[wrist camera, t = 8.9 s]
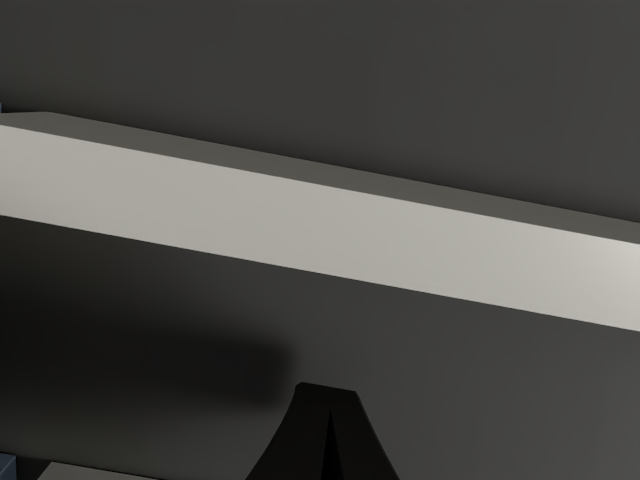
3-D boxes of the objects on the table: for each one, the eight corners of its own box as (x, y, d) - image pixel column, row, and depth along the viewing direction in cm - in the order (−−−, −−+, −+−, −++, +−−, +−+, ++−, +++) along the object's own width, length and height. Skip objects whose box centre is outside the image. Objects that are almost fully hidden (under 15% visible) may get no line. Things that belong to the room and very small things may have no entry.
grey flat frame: (556, 586, 13) (605, 695, 11) (-356, 434, 12) (-520, 514, 10) (728, 239, 10) (857, 285, 7) (-511, 5, 9) (-815, -29, 7)
